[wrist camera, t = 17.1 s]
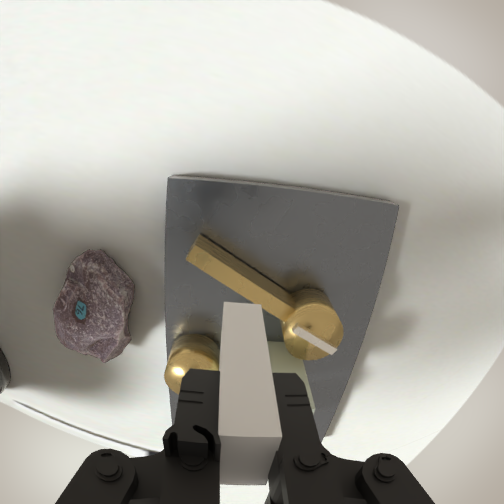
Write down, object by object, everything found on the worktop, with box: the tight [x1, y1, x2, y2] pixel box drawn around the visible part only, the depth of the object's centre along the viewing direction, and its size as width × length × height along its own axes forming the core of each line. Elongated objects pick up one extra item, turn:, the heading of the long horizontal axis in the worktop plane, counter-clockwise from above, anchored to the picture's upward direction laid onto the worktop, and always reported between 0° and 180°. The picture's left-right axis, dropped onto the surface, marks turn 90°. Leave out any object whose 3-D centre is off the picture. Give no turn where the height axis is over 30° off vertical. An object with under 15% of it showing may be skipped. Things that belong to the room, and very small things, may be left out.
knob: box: [185, 234, 343, 360], centre depth 25 cm, size 14×5×5 cm, turn 54°
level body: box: [267, 341, 315, 414], centre depth 26 cm, size 6×5×10 cm
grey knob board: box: [164, 175, 399, 442], centre depth 30 cm, size 20×34×6 cm, turn 174°
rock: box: [53, 249, 135, 363], centre depth 28 cm, size 8×11×5 cm
